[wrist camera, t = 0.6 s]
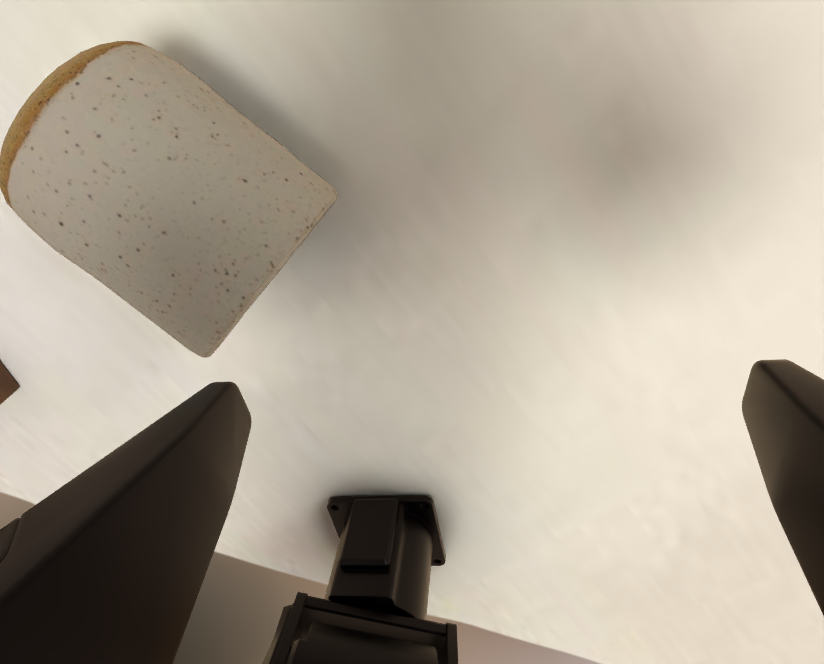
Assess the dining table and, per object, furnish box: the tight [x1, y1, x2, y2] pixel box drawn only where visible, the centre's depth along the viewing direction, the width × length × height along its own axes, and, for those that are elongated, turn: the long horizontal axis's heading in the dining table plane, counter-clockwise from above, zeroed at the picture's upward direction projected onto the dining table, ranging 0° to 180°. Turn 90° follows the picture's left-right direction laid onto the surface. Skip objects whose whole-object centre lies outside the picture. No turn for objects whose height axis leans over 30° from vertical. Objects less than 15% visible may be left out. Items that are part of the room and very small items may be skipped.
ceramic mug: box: [0, 41, 337, 357], centre depth 19 cm, size 11×8×8 cm
